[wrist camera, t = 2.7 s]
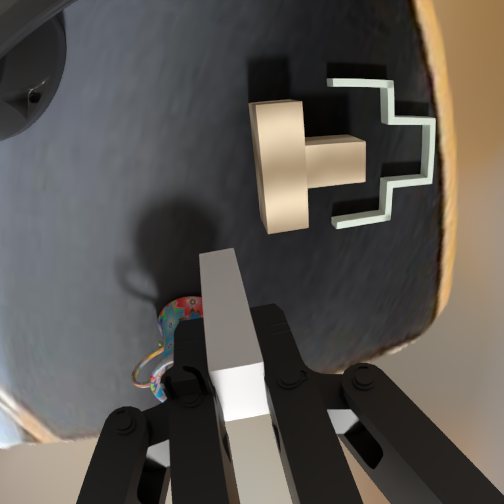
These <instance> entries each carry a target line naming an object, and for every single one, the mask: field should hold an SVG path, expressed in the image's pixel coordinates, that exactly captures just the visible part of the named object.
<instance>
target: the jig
mask: <svg viewBox="0 0 504 504" xmlns="http://www.w3.org/2000/svg"><path fill="white" fill-rule="evenodd" d="M327 86H351V87H380V99H381V123H385V124H388V125H423V128H422V156H421V172H420V174H415V175H403V176H392V177H382V178H380V198H379V210H374V211H367V212H361V213H354V214H348V215H341V216H335V217H332V224H333V226H334V227H335V228H336V229H340V228H346V227H352V226H358V225H364V224H370V223H376V222H382V221H388V220H390V217H391V205H392V191H393V188H395V187H404V186H414V185H423V184H432V177H433V164H434V148H435V118H431V117H427V116H394V83H393V81H390V80H373V79H327Z"/></svg>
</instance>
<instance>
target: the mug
mask: <svg viewBox="0 0 504 504" xmlns="http://www.w3.org/2000/svg"><path fill="white" fill-rule="evenodd" d="M202 317H203V304H202V297H196V296H189V297H182V298H179V299H176V300H174V301H172V302H170V303H169V304H167V305H166V306H165V307H164V308H163V310H162V311H161V313H160V315H159V318H158V328H159V331H160V333H161V335H162V336H163V339H164V343H163V342H161V341H159V342H158V344H159V345H160V347H159V348H157V349H155V350H154V351H152V352H150V353H149V354H148V355H146V356H145V357H144V358H143V359H142V360H141V361H140V362H139V363H138V364H137V366H136V367H135V369H134V370H133V372H132V376H131V379H132V382H133V383H134V385H136V386H137V387H140V388H147V387H151V390H152V392H153V394H154V395H155V396H156V397H157V398H158V399H159V400H160V401H161V402H164V401H165V400H166V399H167V397H166V395H165V393H164V391H163V390H162V388H161V386H160V380H161V377H162V375H163V374H164V373H165V371H166V370H167V369H169V368H171V367H172V366H173V354H174V330H175V328H176V327H177V325H178V323H179V321H183V320H189V319H195V318H202ZM161 352H163V354H162V357H161V360H160V362H159V364H158V365H157V367H156V368H155V369H154V371H153V372H152V375H151V377H150V380H149V381H147V382H143V383H140V382H137V381H136V376H137V374H138V372H139V371H140V369H141V368H142V367H143V366H144V365H145V364H146V363H147V362H148V361H149V360H150V359H152V358H153V357H154V356H156V355H158V354H159V353H161Z"/></svg>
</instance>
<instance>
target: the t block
mask: <svg viewBox="0 0 504 504" xmlns="http://www.w3.org/2000/svg"><path fill="white" fill-rule="evenodd" d="M249 112H250V121H251V130H252V139H253V149H254V158H255V168H256V177H257V187H258V197H259V207H260V217H261V220H262V222H263V224H264V226H265V228H266V231H267V233H268V234H271V233H277V232H284V231H290V230H296V229H303V228H309V226H308V195H307V188H314V187H322V186H331V185H339V184H348V183H358V182H365V164H366V142H365V141H363V140H360V139H358V138H355V137H353V136H350V135H331V136H317V137H305V136H304V121H303V107H302V101H296V100H290V99H289V100H276V101H265V102H254V103H249Z"/></svg>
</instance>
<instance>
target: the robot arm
mask: <svg viewBox="0 0 504 504" xmlns="http://www.w3.org/2000/svg"><path fill="white" fill-rule="evenodd" d="M76 1H77V0H0V141H2V140H5V139H8V138H10V137H13V136H15V135H17V134H19V133H21V132H23V131H24V130H26V129H27V128H29V127H30V126H31V125H32V124H33V123H34V122H35V121H36V120H37V119H38V118H39V117H40V116H41V115H42V114H43V113H44V111H45V110H46V108H47V107H48V106H49V104H50V102H51V101H52V99H53V97H54V95H55V93H56V91H57V89H58V86H59V84H60V81H61V78H62V74H63V70H64V65H65V58H66V42H65V35H64V31H63V28H62V25H61V23H60V21H59V19H58V18H57V16H56V14H57V13H59V12H60V11H62V10H63V9H65V8H66V7H68V6H69V5H71V4H72V3H74V2H76ZM199 259H200V275H201V290H202V304H203V317H202V318H195V319H189V320H183V321H179V323H178V325H177V327H176V328H175V330H174V354H173V366H172V367H171V368H169V369H167V370H166V371H165V373H164V374H163V375H162V377H161V380H160V386H161V388H162V390H163V391H164V393H165V395H166V397H167V399H166V400H165V401H164V402H162V403H161V404H159V405H157V406H155V407H152V408H150V409H147V410H145V411H142V412H141V411H140V410H139V409H138V408H135V407H132V406H127V407H121V408H118V409H116V410H114V411H113V412H112V413H111V414H109V416H108V418H107V419H106V421H105V423H104V426H103V429H102V431H101V434H100V437H99V439H98V442H97V445H96V447H95V450H94V453H93V456H92V458H91V461H90V464H89V467H88V470H87V473H86V475H85V478H84V482H83V485H82V487H81V490H80V494H79V496H78V500H77V503H76V504H165V500H166V496H167V491H168V486H169V482H170V477H171V491H172V504H240V500H239V494H238V489H237V484H236V478H235V473H234V468H233V461H232V455H231V450H230V443H229V437H228V434H227V431H226V427H225V421H231V420H237V419H242V418H248V417H253V416H259V415H264V414H269V413H270V416H271V419H272V427H273V435H274V438H275V439H276V443H277V447H278V450H279V454H280V458H281V462H282V466H283V469H284V473H285V477H286V481H287V484H288V488H289V492H290V495H291V499H292V503H293V504H363V501H362V499H361V496H360V493H359V491H358V488H357V486H356V483H355V481H354V478H353V475H352V473H351V470H350V468H349V465H348V463H347V460H346V457H345V455H344V452H343V450H342V447H341V445H340V442H339V439H338V437H339V438H340V439H341V441H342V442H343V443H344V444H345V446H346V447H347V448H348V450H349V451H350V453H351V454H352V455H353V456H354V458H355V459H356V460H357V462H358V463H359V464H360V465H361V467H362V468H363V469H364V471H365V472H366V473H367V474H368V476H369V477H370V478H371V480H372V481H373V482H374V483H375V485H377V487H378V488H379V490H380V491H381V492H382V493H383V494H384V496H385V497H386V498H387V500H388V501H389V502H390V503H391V504H504V495H503V494H502V493H501V492H500V491H499V490H498V489H497V488H496V487H495V486H494V485H493V484H492V483H491V482H490V481H489V480H488V479H487V478H486V477H485V476H484V475H483V473H482V472H481V471H480V470H479V469H478V468H477V467H476V466H475V465H474V464H473V463H472V462H471V461H470V460H469V459H468V458H467V457H466V456H465V455H464V454H463V453H462V452H461V451H460V450H459V449H458V448H457V447H456V445H455V444H454V443H453V442H452V441H451V440H450V439H449V438H448V437H447V436H446V435H445V434H444V433H443V432H442V431H441V430H440V429H439V428H438V427H437V426H436V425H435V424H434V423H433V422H432V421H431V420H430V419H429V418H428V417H427V416H426V415H425V414H424V413H423V412H422V411H421V410H420V409H419V408H418V407H417V405H416V404H414V402H413V401H412V400H411V399H410V398H409V397H408V396H407V395H406V394H405V393H404V392H403V391H402V390H401V389H400V388H399V387H398V386H397V385H396V384H395V383H394V382H393V381H392V380H391V379H390V378H389V377H388V376H387V375H386V374H385V373H384V372H383V371H382V370H381V369H380V368H378V367H377V366H375V365H372V364H369V363H357V364H354V365H351V366H350V367H349V368H347V369H346V370H345V371H344V373H343V374H321V373H318V372H315V371H313V370H311V369H309V368H308V367H307V366H306V365H305V364H304V362H303V360H302V358H301V355H300V353H299V350H298V348H297V345H296V343H295V340H294V337H293V335H292V332H291V331H290V327H289V325H288V323H287V320H286V317H285V315H284V312H283V310H281V309H280V308H279V307H278V306H277V305H275V304H274V303H273V304H268V305H263V306H258V307H253V308H249V306H248V302H247V298H246V295H245V291H244V287H243V283H242V279H241V275H240V272H239V268H238V264H237V260H236V256H235V252H234V248H230V249H225V250H219V251H213V252H208V253H202V254H199ZM224 420H225V421H224ZM337 435H338V437H337Z"/></svg>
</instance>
